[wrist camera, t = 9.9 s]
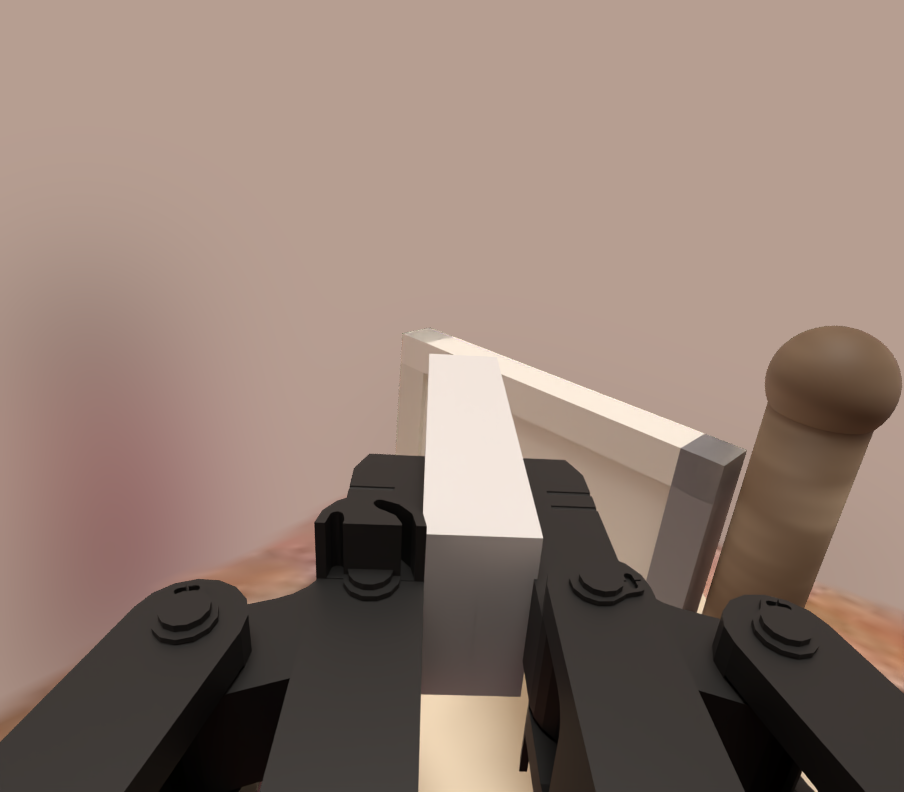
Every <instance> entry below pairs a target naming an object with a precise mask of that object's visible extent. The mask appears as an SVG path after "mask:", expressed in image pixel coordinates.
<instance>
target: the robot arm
mask: <svg viewBox="0 0 904 792" xmlns="http://www.w3.org/2000/svg"><path fill="white" fill-rule="evenodd" d="M314 523H315V550H316V577H317V579H316V581H315V582H313V583H312V584H311V585H309V586H308V587H306V588H304V589H302V590H300V591H298V592H296V593H294V594H291V595H287V596H284V597H280V598H277V599H272V600H267V601H262V602H257V603H252V604H247V599H246V598H245V597H244V595H243V594H242V593H241V592H240V591H239V590H238V589H237V587H235V586H232V585H230V584H227V583H225V582H222V581H220V580H205V579H196V580H191V581H185V582H180V583H175V584H172V585H170V586H168V587H165V588H163V589H161V590H159V591H156V592H154V593H152V594H151V595H149V596H148V597H147V598H145V599H144V600H143V601H141V602H140V603H139V604H137V605H136V606H135V607H134V608H133V609H132V610H131V611H130V612H129V613H128V614H127V615H126V616H125V617H124V618H123V619H122V620H121V621H120V622H119V623H118V624H117V625H116V626H115V627H114V628H113V629H112V630H111V631H110V632H109V633H108V634H107V635H106V636H105V637H104V638H103V639H102V640H101V641H100V642H99V643H98V644H97V645H96V646H95V647H94V648H93V649H92V650H91V651H90V652H89V653H88V654H87V655H86V656H85V657H84V658H83V659H82V660H81V661H80V662H79V663H78V664H77V665H76V666H75V667H74V668H73V669H72V670H71V671H70V672H69V673H68V674H67V675H66V676H65V677H64V678H63V679H62V680H61V681H60V682H59V683H58V684H57V685H56V686H55V687H54V688H53V689H52V690H51V691H50V692H49V693H48V694H47V695H46V696H45V697H44V698H43V699H42V700H41V701H40V702H39V703H38V704H37V705H36V706H35V707H34V708H33V710H32V711H31V712H30V713H29V714H28V715H27V716H26V717H25V718H24V719H23V720H22V721H21V722H20V723H19V724H18V725H17V726H16V727H15V728H14V729H13V730H12V731H11V732H10V733H9V734H8V735H7V736H6V737H5V738H4V739H3V740H2V741H1V742H0V792H256V791H257V789H258V786H259V783H260V782H261V781H262V785H261V789H260V792H418V787H419V750H420V713H421V694H424V695H464V696H504V697H521V690H522V683H523V676H524V674H525V680H526V687H527V693H528V699H529V701H528V708H527V714H526V721H525V728H524V734H523V741H522V747H521V754H520V765H519V772H527V769H528V763H529V765H530V773H531V780H532V787H533V792H815V791H814V790H813V789H812V788H811V787H810V786H809V785H808V784H807V783H806V782H805V780H804V779H803V778H802V777H801V774H802V771H803V773H804V774H805V775H806V776H807V778H808V779H809V780H810V781H811V783H812V784H813V785H814V786H815V788H816V789H817V790H818V791H819V792H904V694H903V693H902V692H901V691H900V690H899V689H898V688H897V687H896V686H895V685H894V684H893V683H891V682H890V681H889V680H888V679H887V678H886V677H885V676H884V675H883V674H882V673H881V672H879V671H878V670H877V669H876V668H875V667H874V666H873V665H872V664H871V663H870V662H869V661H867V660H866V659H865V658H864V657H863V656H862V655H861V654H860V653H859V652H858V651H856V650H855V649H854V648H853V647H852V646H851V645H850V644H849V643H848V642H847V641H846V640H844V639H843V638H842V637H841V636H840V635H839V634H838V633H837V632H836V631H835V630H834V629H832V628H831V627H830V626H829V625H828V624H826V623H825V622H824V621H822V620H821V619H820V618H818V617H817V616H816V615H814V614H813V613H811V612H810V611H808V610H806V609H804V608H802V607H800V606H798V605H796V604H793V603H791V602H789V601H787V600H783V599H779V598H775V597H771V596H767V595H742V596H740V597H737V598H734V599H732V600H730V601H729V602H728V604H727V605H726V607H725V608H724V610H723V611H722V615H721V618H720V619H718V618H715V617H711V616H707V615H703V614H699V613H696V612H692V611H688V610H684V609H680V608H677V607H675V606H672V605H669V604H666V603H663V602H661V601H659V600H657V599H656V597H655V595H654V593H653V591H652V589H651V587H650V586H649V584H648V583H647V582H646V580H645V579H644V578H643V576H642V575H641V574H639V573H638V572H637V571H635V570H634V569H632V568H631V567H630V566H628V565H627V564H625V563H623V562H620V561H618V558H617V556H616V553H615V551H614V549H613V546H612V544H611V541H610V539H609V537H608V534H607V532H606V529H605V527H604V525H603V522H602V520H601V517H600V515H599V513H598V511H596V505H595V503H594V501H593V498H592V496H590V491H589V489H588V486H587V484H586V481H585V479H584V477H583V475H582V474H581V473H580V472H579V471H577V470H576V469H575V468H574V467H573V466H572V465H571V464H569V463H568V462H567V461H566V460H555V459H531V458H523V457H522V453H521V449H520V445H519V441H518V438H517V434H516V430H515V426H514V422H513V418H512V414H511V410H510V406H509V402H508V399H507V395H506V391H505V387H504V383H503V379H502V375H501V371H500V367H499V363H498V359H497V357H487V356H466V355H446V354H429V373H428V395H427V416H426V438H425V456H409V455H383V454H369V455H368V456H367V457H366V458H365V459H363V460H362V461H361V462H360V463H359V464H358V465H357V466H356V467H355V468H354V471H353V475H352V479H351V483H350V489H349V491H348V495H347V498H345V499H341V500H338V501H336V502H334V503H333V504H331V505H330V506H328V507H327V508H325V509H324V510H322V512H321V513H320V515H319V516H318V518H317V519H316V521H315V522H314Z"/></svg>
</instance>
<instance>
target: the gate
mask: <svg viewBox="0 0 904 792" xmlns="http://www.w3.org/2000/svg"><path fill="white" fill-rule="evenodd" d="M429 354H446V355H466V356H487V357H497V359H498V363H499V367H500V371H501V375H502V379H503V383H504V387H505V391H506V395H507V399H508V402H509V406H510V410H511V414H512V418H513V422H514V426H515V430H516V434H517V438H518V441H519V445H520V449H521V453H522V457H523V458H531V459H555V460H566V461H567V462H568V463H569V464H571V465H572V466H573V467H574V468H575V469H576V470H577V471H579V472H580V473H581V474H582V475H583V477H584V479H585V481H586V484H587V486H588V489H589V491H590V496H592V498H593V501H594V503H595V505H596V511H598V513H599V515H600V517H601V520H602V522H603V525H604V527H605V529H606V532H607V534H608V537H609V539H610V541H611V544H612V546H613V549H614V551H615V553H616V556H617V558H618V561H620V562H623V563H625V564H627V565H628V566H630V567H631V568H632V569H634V570H635V571H637V572H638V573H639V574H641V575H642V576H643V578H644V579H645V580H646V582H647V583H648V584H649V586H650V587H651V589H652V591H653V593H654V595H655V597H656V599H657V600H659V601H661V602H663V603H666V604H669V605H672V606H675V607H677V608H680V609H684V610H688V611H692V612H696V613H697V611H698V607H699V604H700V601H701V598H702V594H703V591H704V588H705V585H706V581H707V578H708V575H709V572H710V568H711V565H712V562H713V559H714V555H715V552H716V549H717V546H718V542H719V539H720V536H721V533H722V529H723V526H724V522H725V520H726V516H727V513H728V510H729V507H730V503H731V500H732V497H733V493H734V490H735V487H736V484H737V481H738V477H739V474H740V471H741V468H742V465H743V461H744V458H745V455H746V451H747V450H746V449H743V448H741V447H738V446H735V445H733V444H730V443H728V442H725V441H722V440H719V439H717V438H715V437H712V436H709V435H707V434H704V433H702V432H699V431H696V430H694V429H691V428H689V427H686V426H684V425H681V424H678V423H676V422H673V421H671V420H668V419H665V418H663V417H660V416H658V415H655V414H652V413H649V412H647V411H645V410H642V409H640V408H637V407H634V406H631V405H629V404H627V403H624V402H621V401H619V400H616V399H614V398H611V397H608V396H606V395H603V394H601V393H598V392H596V391H593V390H590V389H588V388H585V387H583V386H580V385H577V384H575V383H572V382H570V381H567V380H564V379H562V378H559V377H556V376H554V375H551V374H549V373H546V372H544V371H541V370H539V369H536V368H533V367H531V366H528V365H526V364H523V363H520V362H517V361H515V360H513V359H510V358H508V357H505V356H502V355H500V354H497V353H494V352H492V351H489V350H487V349H484V348H482V347H479V346H476V345H474V344H471V343H469V342H466V341H463V340H461V339H458V338H455V337H453V336H451V335H448V334H445V333H443V332H440V331H438V330H435V329H432V328H427V329H422V330H416V331H412V332H406V333H402V347H401V365H400V383H399V399H398V417H397V434H396V452H395V455H409V456H425V438H426V416H427V395H428V373H429Z"/></svg>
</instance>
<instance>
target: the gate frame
mask: <svg viewBox="0 0 904 792" xmlns="http://www.w3.org/2000/svg"><path fill="white" fill-rule="evenodd" d="M901 388H902V378H901V373H900V369H899V366H898V363H897V361H896V359H895V358H894V356H893V354H892V353H891V352H890V350H889V349H888V348H887V347H886V346H885V345H884V344H882V343H881V341H879V340H878V339H876V338H875V337H873V336H871V335H870V334H868V333H865V332H863V331H861V330H858V329H854V328H850V327H843V326H824V327H819V328H814V329H811V330H807V331H805V332H802V333H800V334H798V335H796V336H795V337H793V338H791V339H790V340H789V341H788V342H786V343H785V344H784V345H783V346H782V347H781V348H780V349H779V350H778V351H777V352H776V354H775V355H774V357H773V358H772V360H771V362H770V364H769V366H768V369H767V373H766V377H765V391H766V396H767V400H768V404H767V407H766V410H765V413H764V417H763V419H762V423H761V426H760V429H759V432H758V435H757V439H756V442H755V445H754V448H753V451H752V455H751V458H750V461H749V464H748V467H747V471H746V474H745V477H744V480H743V483H742V487H741V490H740V493H739V496H738V500H737V503H736V506H735V509H734V512H733V515H732V519H731V522H730V525H729V528H728V532H727V535H726V538H725V541H724V544H723V547H722V551H721V554H720V557H719V560H718V563H717V567H716V570H715V573H714V576H713V579H712V583H711V586H710V589H709V592H708V595H707V599H706V598H705V596H704V595H703V594H702V598H701V601H700V604H699V607H698V611H697V613H699V614H703V615H707V616H711V617H715V618H718V619H720V618H721V615H722V611H723V610H724V608H725V607H726V605H727V604H728V602H729V601H730V600H732V599H734V598H737V597H740V596H742V595H767V596H771V597H775V598H779V599H783V600H787V601H789V602H791V603H793V604H796V605H798V606H800V607H802V608H804V607H805V604H806V602H807V599H808V597H809V594H810V592H811V589H812V587H813V584H814V582H815V579H816V576H817V574H818V571H819V569H820V566H821V564H822V561H823V559H824V556H825V553H826V551H827V549H828V546H829V543H830V541H831V538H832V535H833V533H834V531H835V528H836V526H837V523H838V521H839V518H840V516H841V513H842V510H843V508H844V505H845V503H846V500H847V498H848V495H849V492H850V490H851V488H852V485H853V482H854V480H855V477H856V475H857V472H858V470H859V467H860V465H861V462H862V460H863V457H864V455H865V452H866V449H867V447H868V444H869V442H870V439H871V437H872V434H873V432H874V430H876V429H877V428H878V427H879V426H881V425H882V424H883V423H884V422H885V421H886V420H887V419H888V418H889V417H890V416H891V414H892V413H893V411H894V410H895V407H896V406H897V404H898V401H899V398H900V395H901ZM528 701H529V699H528V693H527V687H526V680H525V674H524V676H523V683H522V690H521V697H504V696H464V695H424V694H421V713H420V750H419V787H418V792H533V787H532V780H531V773H530V765H529V763H528V769H527V772H519V765H520V754H521V747H522V741H523V734H524V728H525V721H526V714H527V708H528ZM801 777H802V778H803V779H804V780H805V782H806V783H807V784H808V785H809V786H810V787H811V788H812V789H813V790H814V791H815V792H818V791H817V789H816V788H815V786H814V785H813V784H812V783H811V781H810V780H809V779H808V778H807V776H806V775H805V774H804V773H803V771H802V774H801Z"/></svg>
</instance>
